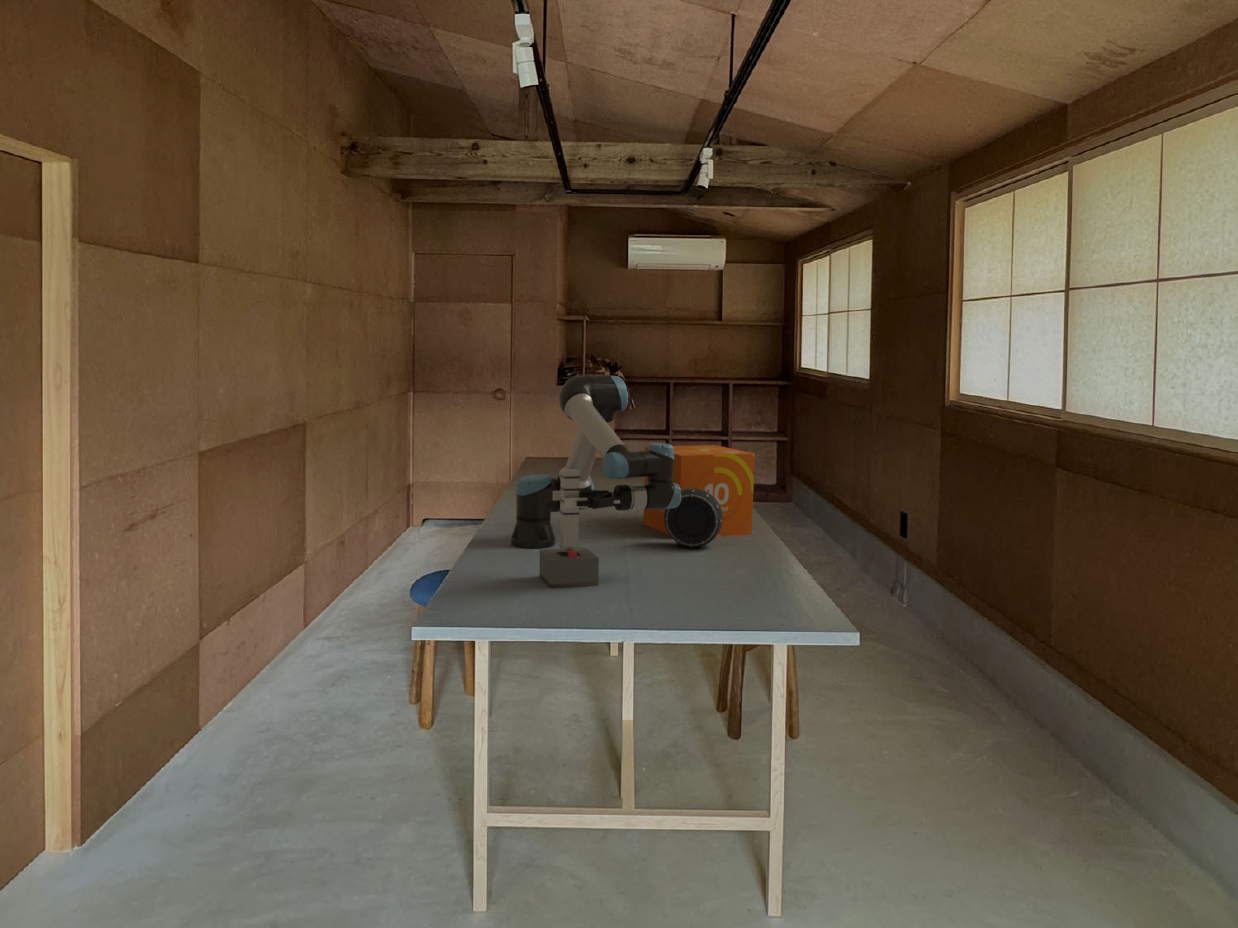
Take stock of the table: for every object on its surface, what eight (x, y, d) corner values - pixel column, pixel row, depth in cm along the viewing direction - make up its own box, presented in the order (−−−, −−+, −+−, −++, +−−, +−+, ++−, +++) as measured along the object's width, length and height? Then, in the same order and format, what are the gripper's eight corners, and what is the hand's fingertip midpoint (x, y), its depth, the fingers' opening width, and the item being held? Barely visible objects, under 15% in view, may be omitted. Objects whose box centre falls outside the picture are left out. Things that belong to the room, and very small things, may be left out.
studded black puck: (720, 551, 326) (722, 492, 323) (661, 547, 330) (662, 489, 327) (723, 545, 336) (725, 488, 334) (666, 541, 340) (667, 485, 338)
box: (678, 539, 345) (681, 455, 341) (643, 524, 372) (645, 446, 369) (751, 534, 357) (754, 453, 353) (712, 520, 384) (714, 444, 381)
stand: (550, 587, 273) (551, 554, 272) (539, 576, 286) (539, 544, 285) (598, 585, 277) (599, 552, 276) (585, 573, 290) (585, 542, 289)
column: (563, 551, 278) (564, 471, 275) (559, 547, 282) (560, 469, 279) (578, 550, 279) (580, 471, 276) (574, 546, 283) (575, 468, 281)
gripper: (642, 517, 273) (569, 520, 266) (615, 503, 296) (548, 505, 290) (643, 491, 272) (570, 493, 265) (616, 478, 295) (548, 480, 289)
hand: (558, 499), depth 278 cm, fingers open, 13 cm apart
